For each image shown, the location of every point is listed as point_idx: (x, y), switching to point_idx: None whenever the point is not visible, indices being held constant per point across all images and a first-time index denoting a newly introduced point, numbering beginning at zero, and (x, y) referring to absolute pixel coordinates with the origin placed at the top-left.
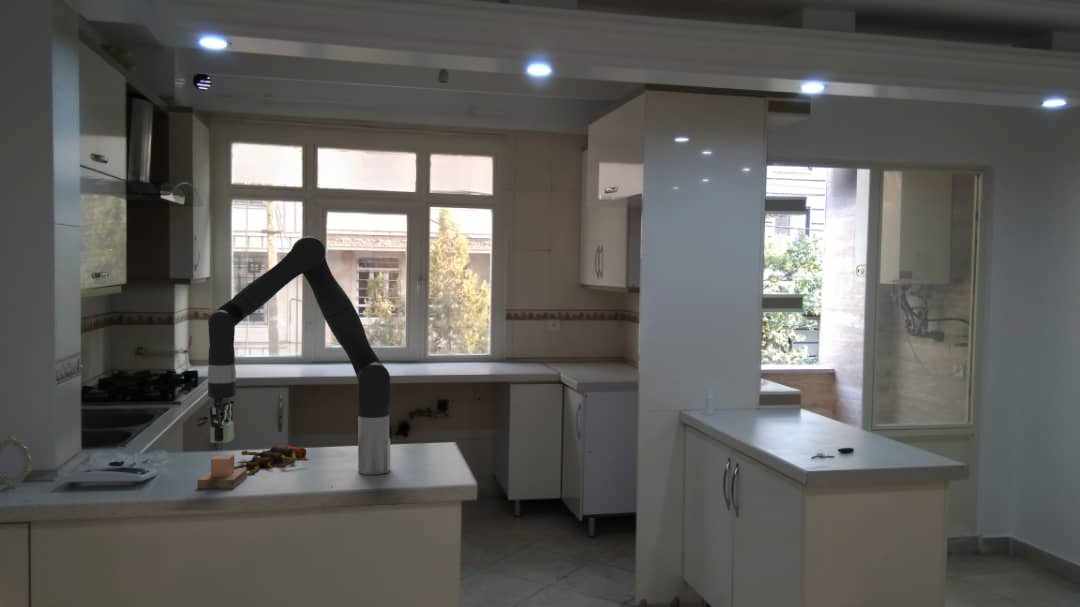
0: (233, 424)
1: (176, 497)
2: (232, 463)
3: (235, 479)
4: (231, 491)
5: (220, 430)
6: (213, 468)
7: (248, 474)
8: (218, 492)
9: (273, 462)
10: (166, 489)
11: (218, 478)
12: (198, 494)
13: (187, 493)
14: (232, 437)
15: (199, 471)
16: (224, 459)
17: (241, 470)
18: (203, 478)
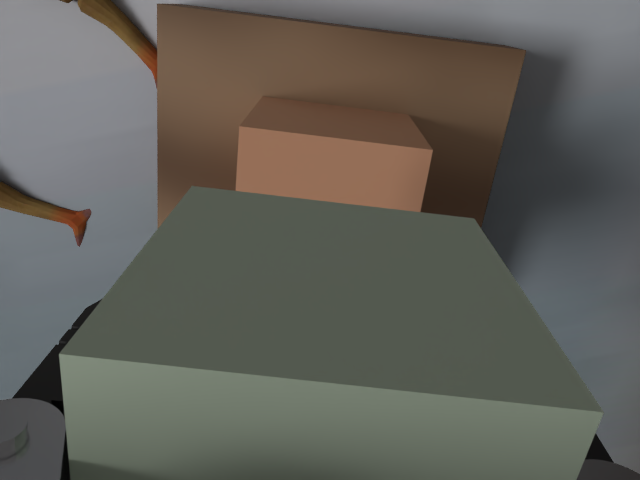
0: (115, 312)
1: (618, 351)
2: (305, 118)
3: (477, 43)
4: (581, 46)
5: (594, 457)
6: None
7: (111, 2)
8: (580, 136)
9: None
10: None
11: (451, 182)
12: (590, 251)
13: (545, 315)
14: (255, 206)
15: (17, 355)
16: (423, 190)
17: (205, 45)
18: None
